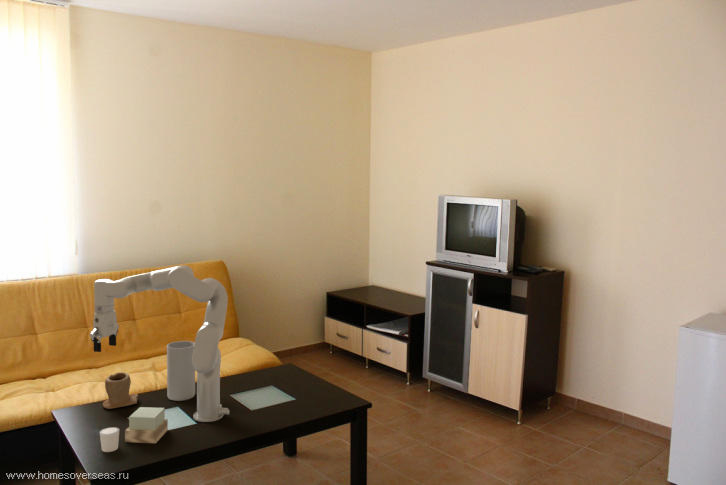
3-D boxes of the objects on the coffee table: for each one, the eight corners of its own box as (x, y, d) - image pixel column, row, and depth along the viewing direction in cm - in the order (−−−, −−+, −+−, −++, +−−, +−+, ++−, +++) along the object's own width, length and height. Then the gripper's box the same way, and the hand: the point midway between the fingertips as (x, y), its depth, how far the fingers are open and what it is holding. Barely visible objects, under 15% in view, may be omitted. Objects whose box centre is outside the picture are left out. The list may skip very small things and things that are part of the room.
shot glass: (112, 453, 210) (112, 435, 209) (95, 451, 211) (95, 433, 211) (123, 445, 217) (123, 427, 216) (107, 443, 218) (107, 426, 217)
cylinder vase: (191, 390, 277) (191, 339, 275) (198, 398, 266) (198, 346, 264) (164, 394, 270) (164, 343, 268) (170, 403, 260) (170, 349, 257)
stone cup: (105, 413, 246) (104, 379, 245) (101, 404, 256) (100, 372, 255) (142, 407, 254) (141, 374, 253) (137, 398, 264) (136, 367, 263)
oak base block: (167, 431, 231) (167, 419, 231) (155, 444, 219) (155, 431, 219) (138, 429, 232) (138, 418, 231) (125, 442, 220) (124, 430, 219)
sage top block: (164, 419, 230) (164, 407, 230) (154, 430, 220) (154, 417, 220) (140, 419, 230) (140, 407, 230) (129, 429, 220) (129, 416, 220)
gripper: (98, 313, 230) (99, 354, 231) (125, 305, 247) (125, 343, 248) (82, 312, 232) (83, 353, 233) (110, 304, 248) (110, 342, 250)
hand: (105, 348), depth 241 cm, fingers open, 9 cm apart
